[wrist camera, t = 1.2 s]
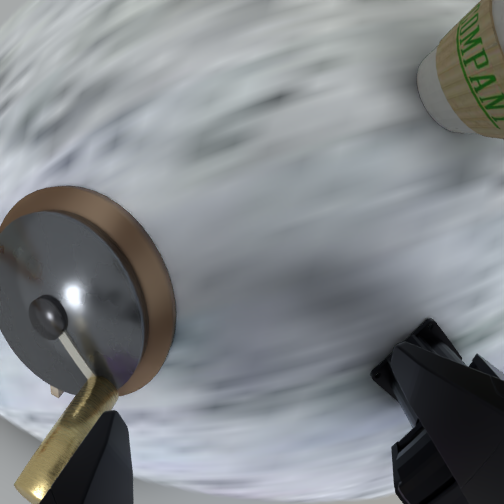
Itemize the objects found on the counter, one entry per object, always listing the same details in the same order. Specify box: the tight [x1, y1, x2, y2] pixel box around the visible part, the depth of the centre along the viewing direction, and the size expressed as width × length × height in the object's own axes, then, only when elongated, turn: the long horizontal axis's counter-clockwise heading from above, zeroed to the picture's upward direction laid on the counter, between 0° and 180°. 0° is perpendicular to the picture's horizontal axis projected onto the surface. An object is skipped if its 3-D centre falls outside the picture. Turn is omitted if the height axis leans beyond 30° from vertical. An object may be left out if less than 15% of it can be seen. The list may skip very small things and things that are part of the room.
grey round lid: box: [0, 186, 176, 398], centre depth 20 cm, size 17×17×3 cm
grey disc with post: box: [0, 209, 149, 504], centre depth 14 cm, size 15×14×12 cm
